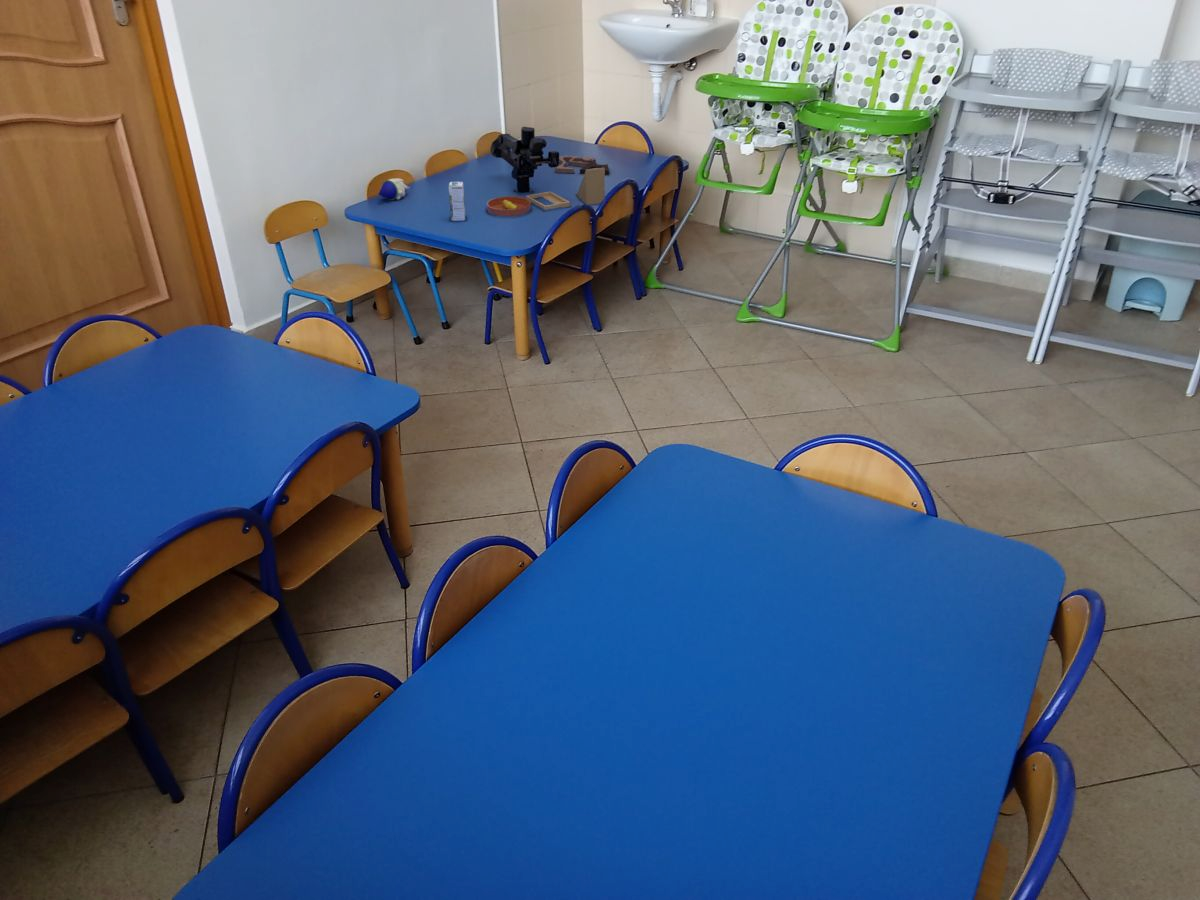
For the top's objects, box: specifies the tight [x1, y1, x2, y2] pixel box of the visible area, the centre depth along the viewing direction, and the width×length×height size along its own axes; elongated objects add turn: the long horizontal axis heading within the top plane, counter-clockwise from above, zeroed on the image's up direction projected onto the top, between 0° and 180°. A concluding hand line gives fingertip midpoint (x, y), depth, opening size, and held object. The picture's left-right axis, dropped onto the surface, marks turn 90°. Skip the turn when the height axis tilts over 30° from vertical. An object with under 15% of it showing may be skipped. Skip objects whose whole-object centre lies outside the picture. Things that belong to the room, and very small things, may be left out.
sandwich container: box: [576, 168, 606, 205], centre depth 385 cm, size 9×15×15 cm, turn 18°
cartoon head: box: [378, 177, 411, 201], centre depth 388 cm, size 9×10×20 cm
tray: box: [525, 191, 571, 211], centre depth 383 cm, size 18×12×2 cm
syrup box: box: [448, 181, 466, 222], centre depth 363 cm, size 6×6×14 cm
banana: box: [503, 200, 518, 209], centre depth 375 cm, size 12×4×3 cm, turn 31°
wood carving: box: [554, 155, 610, 176], centre depth 431 cm, size 28×2×24 cm
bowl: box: [486, 195, 532, 217], centre depth 375 cm, size 18×18×3 cm
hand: (546, 166), depth 371 cm, fingers open, 9 cm apart
